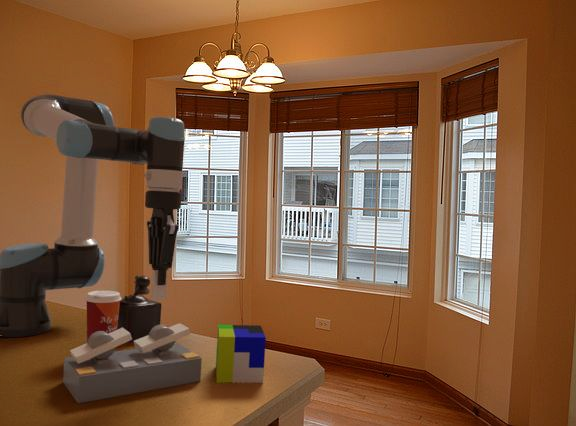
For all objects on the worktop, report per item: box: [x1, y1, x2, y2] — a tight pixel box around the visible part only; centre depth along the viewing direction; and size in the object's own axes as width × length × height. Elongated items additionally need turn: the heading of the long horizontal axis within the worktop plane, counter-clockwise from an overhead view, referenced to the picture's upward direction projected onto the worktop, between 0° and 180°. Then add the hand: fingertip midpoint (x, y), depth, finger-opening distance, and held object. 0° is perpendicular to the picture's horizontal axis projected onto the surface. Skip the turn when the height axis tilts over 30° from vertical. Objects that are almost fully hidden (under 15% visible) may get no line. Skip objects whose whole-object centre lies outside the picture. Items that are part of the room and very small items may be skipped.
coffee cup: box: [84, 290, 123, 342], centre depth 121 cm, size 8×8×15 cm
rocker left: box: [69, 327, 132, 364], centre depth 103 cm, size 5×11×5 cm, turn 126°
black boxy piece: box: [117, 275, 162, 342], centre depth 137 cm, size 16×11×18 cm
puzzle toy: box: [215, 324, 267, 384], centre depth 114 cm, size 10×10×10 cm
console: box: [62, 342, 202, 404], centre depth 106 cm, size 12×25×6 cm, turn 126°
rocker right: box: [133, 323, 191, 353], centre depth 110 cm, size 5×11×5 cm, turn 126°
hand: (158, 299), depth 109 cm, fingers closed
